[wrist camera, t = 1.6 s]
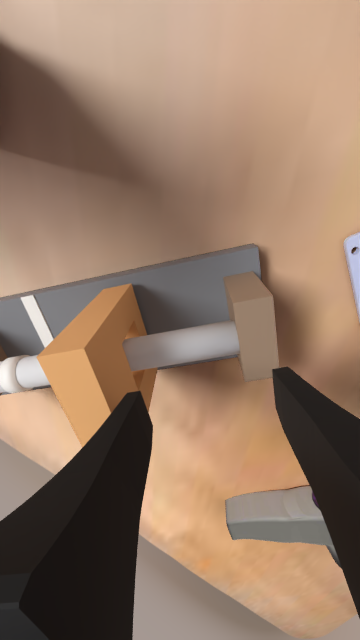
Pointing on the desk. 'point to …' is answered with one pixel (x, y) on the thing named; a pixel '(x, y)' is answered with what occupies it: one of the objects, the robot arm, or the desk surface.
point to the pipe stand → (154, 317)
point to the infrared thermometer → (279, 518)
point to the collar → (97, 361)
